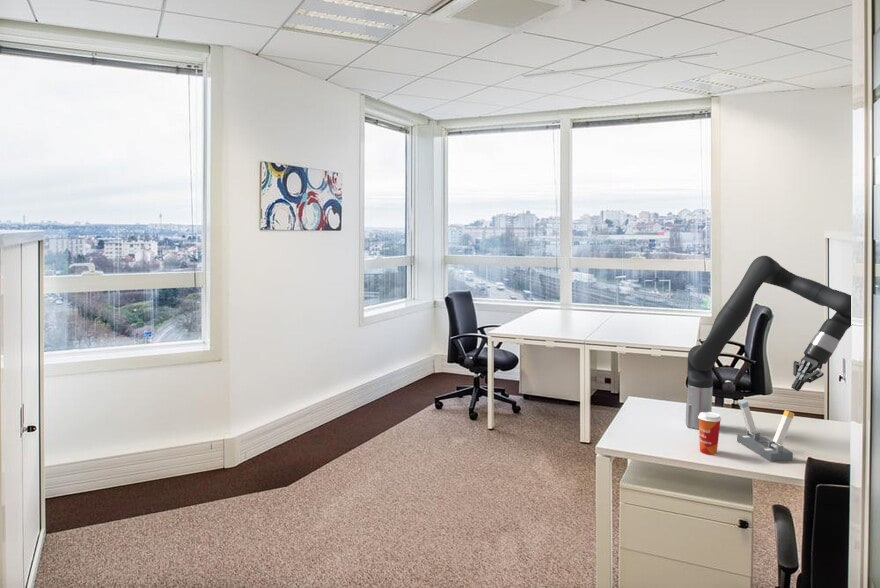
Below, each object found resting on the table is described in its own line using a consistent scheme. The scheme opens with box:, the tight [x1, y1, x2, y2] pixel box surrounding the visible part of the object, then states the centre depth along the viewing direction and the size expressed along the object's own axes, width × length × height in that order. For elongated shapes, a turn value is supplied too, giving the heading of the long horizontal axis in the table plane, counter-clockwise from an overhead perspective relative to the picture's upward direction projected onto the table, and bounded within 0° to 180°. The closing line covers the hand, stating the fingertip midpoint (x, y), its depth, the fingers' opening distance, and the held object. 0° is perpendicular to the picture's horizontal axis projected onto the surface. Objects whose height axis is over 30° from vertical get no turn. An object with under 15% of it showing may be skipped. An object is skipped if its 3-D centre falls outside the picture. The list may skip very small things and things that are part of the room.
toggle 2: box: [771, 409, 795, 449], centre depth 206 cm, size 2×3×14 cm
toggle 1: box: [738, 399, 757, 436], centre depth 218 cm, size 2×3×14 cm
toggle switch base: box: [736, 428, 794, 463], centre depth 213 cm, size 8×20×5 cm, turn 5°
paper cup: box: [698, 411, 722, 456], centre depth 212 cm, size 8×8×14 cm
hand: (794, 389), depth 207 cm, fingers closed
